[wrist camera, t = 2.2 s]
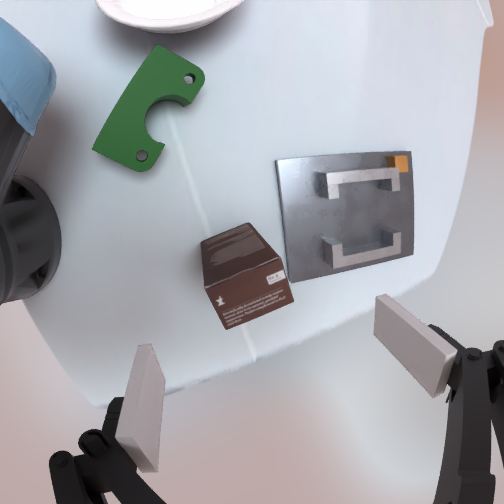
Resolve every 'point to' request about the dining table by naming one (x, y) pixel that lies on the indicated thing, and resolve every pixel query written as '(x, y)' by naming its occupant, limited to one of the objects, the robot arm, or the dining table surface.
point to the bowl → (166, 13)
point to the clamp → (146, 107)
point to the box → (243, 276)
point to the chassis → (345, 211)
